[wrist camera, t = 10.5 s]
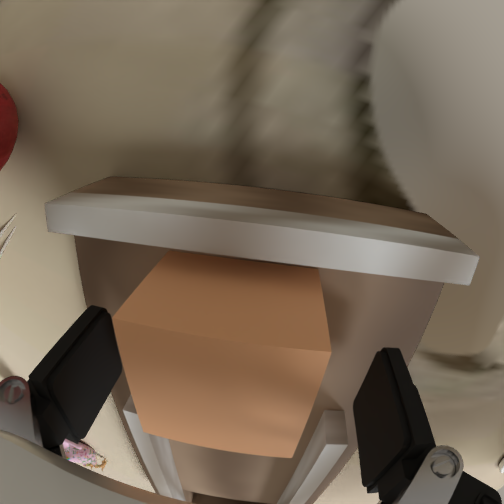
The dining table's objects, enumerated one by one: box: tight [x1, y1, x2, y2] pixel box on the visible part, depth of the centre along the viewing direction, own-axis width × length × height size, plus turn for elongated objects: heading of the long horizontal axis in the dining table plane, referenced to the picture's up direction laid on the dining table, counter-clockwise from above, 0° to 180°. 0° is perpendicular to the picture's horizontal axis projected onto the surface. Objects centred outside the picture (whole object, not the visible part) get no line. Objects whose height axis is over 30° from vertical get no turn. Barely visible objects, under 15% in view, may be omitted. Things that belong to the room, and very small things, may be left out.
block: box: [112, 251, 332, 458], centre depth 9 cm, size 5×5×4 cm
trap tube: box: [45, 177, 480, 504], centre depth 17 cm, size 14×34×5 cm, turn 175°
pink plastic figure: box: [63, 439, 106, 471], centre depth 21 cm, size 6×6×15 cm
